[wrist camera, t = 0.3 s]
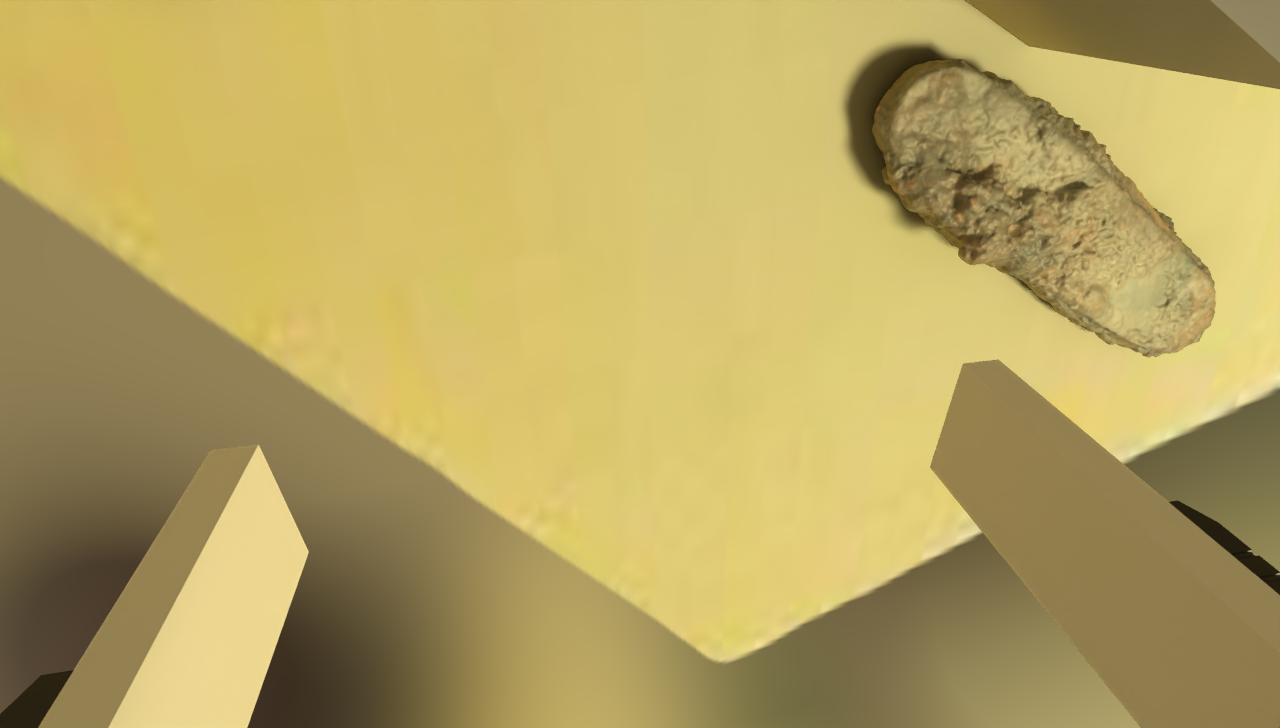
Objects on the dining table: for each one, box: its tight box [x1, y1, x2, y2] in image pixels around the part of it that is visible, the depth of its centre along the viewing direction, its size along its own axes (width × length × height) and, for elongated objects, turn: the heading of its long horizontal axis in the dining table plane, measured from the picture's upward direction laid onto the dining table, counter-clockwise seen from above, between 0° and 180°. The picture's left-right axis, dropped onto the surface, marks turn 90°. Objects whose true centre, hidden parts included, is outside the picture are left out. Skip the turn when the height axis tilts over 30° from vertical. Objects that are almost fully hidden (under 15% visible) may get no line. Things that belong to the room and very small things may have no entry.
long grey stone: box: [872, 59, 1216, 357], centre depth 42 cm, size 35×5×10 cm
